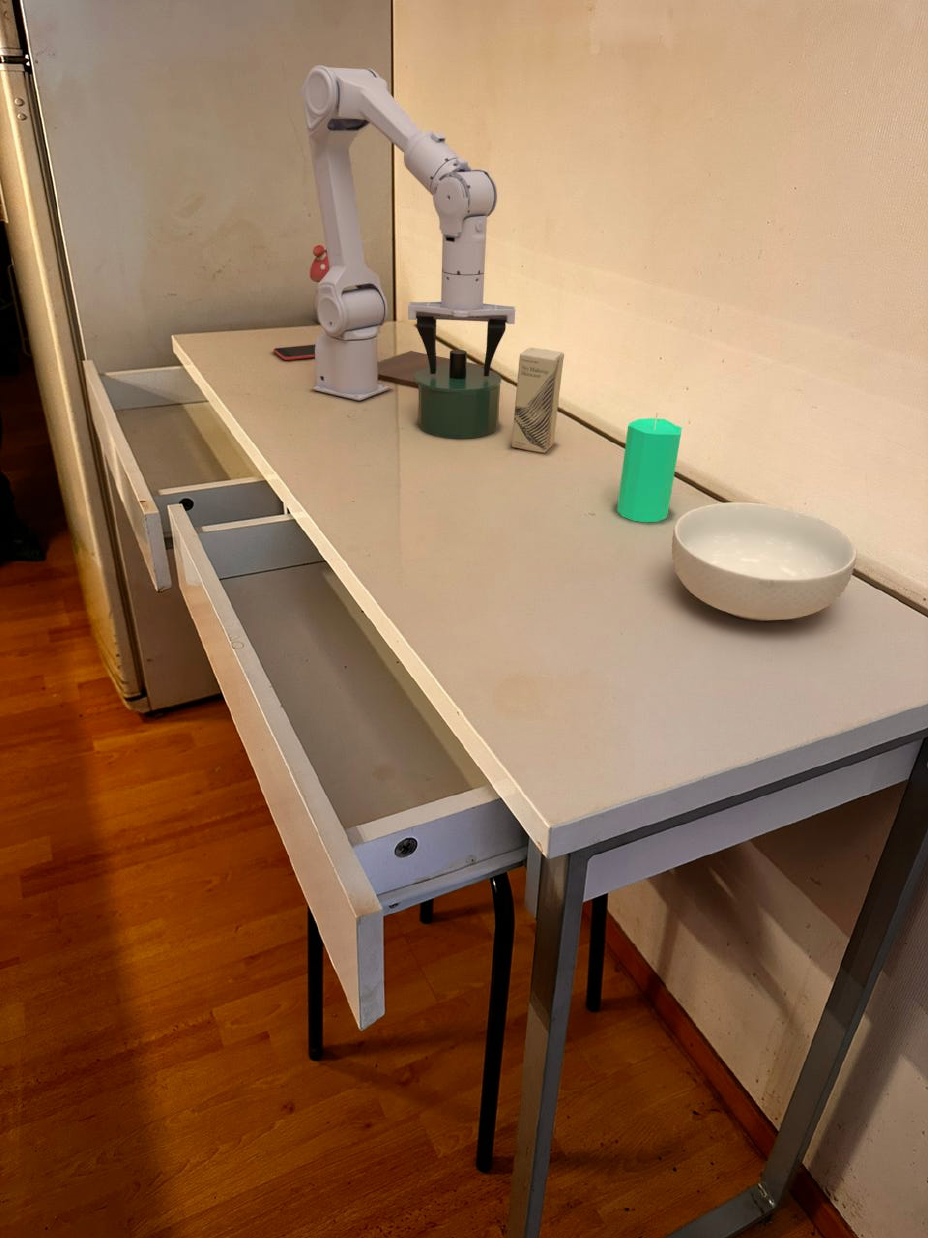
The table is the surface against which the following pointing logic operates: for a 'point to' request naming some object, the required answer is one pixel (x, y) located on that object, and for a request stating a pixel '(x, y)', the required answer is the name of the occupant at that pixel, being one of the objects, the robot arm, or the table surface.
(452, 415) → the pot
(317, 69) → the robot arm
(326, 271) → the decorative ornament
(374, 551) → the table surface
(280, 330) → the table surface
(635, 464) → the candle
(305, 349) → the smartphone
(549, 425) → the box
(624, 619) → the table surface
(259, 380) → the table surface
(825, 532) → the cereal bowl
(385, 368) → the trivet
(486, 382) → the lid
